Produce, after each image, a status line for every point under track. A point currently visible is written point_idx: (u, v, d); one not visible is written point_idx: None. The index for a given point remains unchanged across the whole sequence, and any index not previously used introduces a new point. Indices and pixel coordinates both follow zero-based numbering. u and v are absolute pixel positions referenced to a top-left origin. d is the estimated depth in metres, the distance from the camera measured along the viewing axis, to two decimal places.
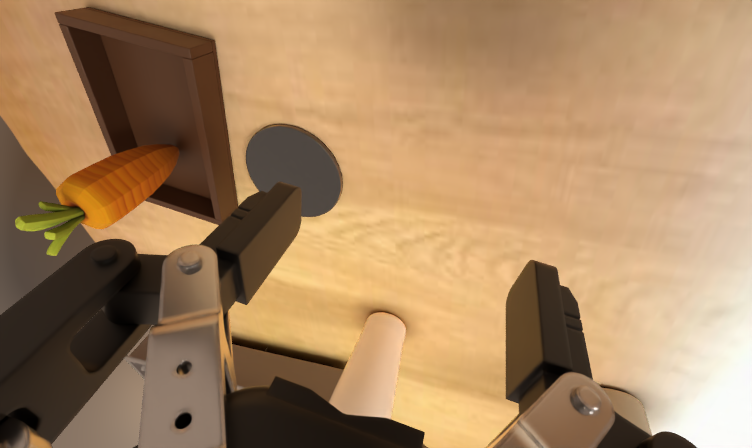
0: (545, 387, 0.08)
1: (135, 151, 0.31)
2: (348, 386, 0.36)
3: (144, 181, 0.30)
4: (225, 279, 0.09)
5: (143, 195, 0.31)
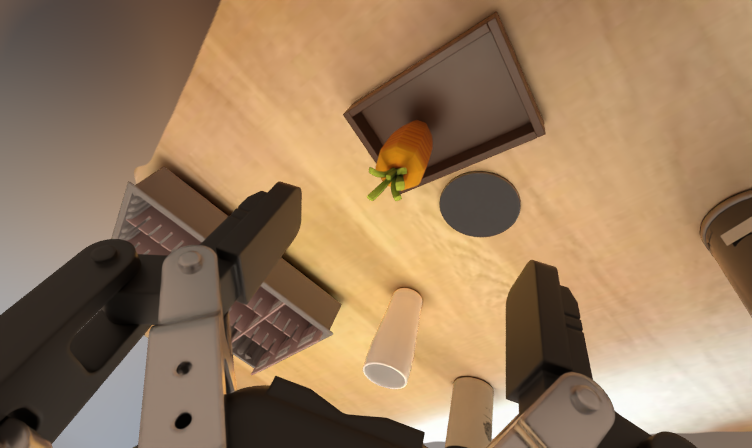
0: (545, 387, 0.08)
1: (428, 132, 0.36)
2: (401, 339, 0.51)
3: None
4: (225, 279, 0.09)
5: None
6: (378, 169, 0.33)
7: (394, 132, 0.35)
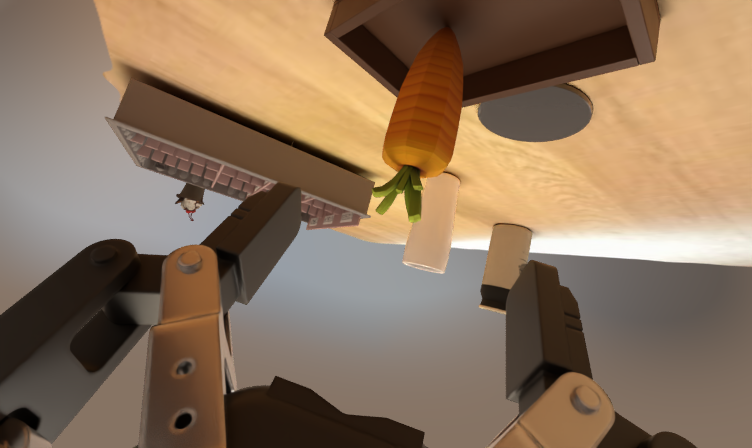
0: (545, 387, 0.08)
1: (455, 74, 0.23)
2: (437, 237, 0.51)
3: None
4: (225, 279, 0.09)
5: None
6: (386, 162, 0.24)
7: (403, 85, 0.23)
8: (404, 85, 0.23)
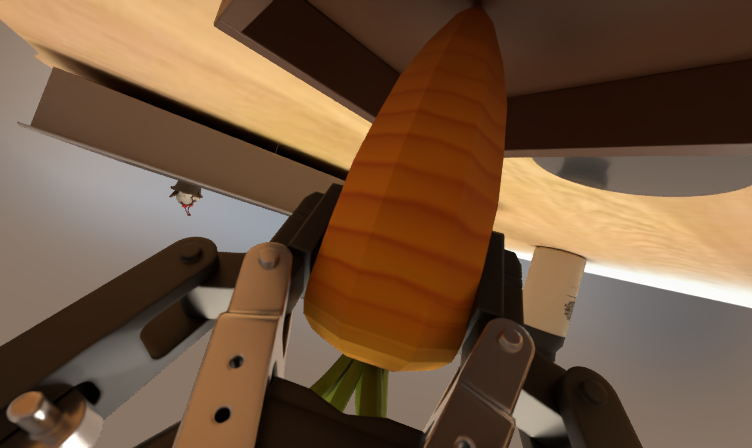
0: (478, 333, 0.09)
1: (486, 136, 0.09)
2: None
3: None
4: (297, 275, 0.10)
5: None
6: None
7: (358, 159, 0.10)
8: (360, 158, 0.10)
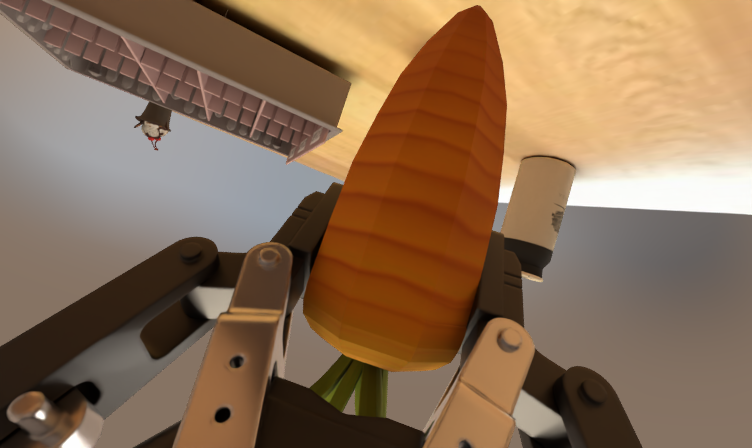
0: (478, 332, 0.09)
1: (486, 137, 0.09)
2: None
3: None
4: (297, 275, 0.10)
5: None
6: None
7: (358, 159, 0.10)
8: (359, 158, 0.10)
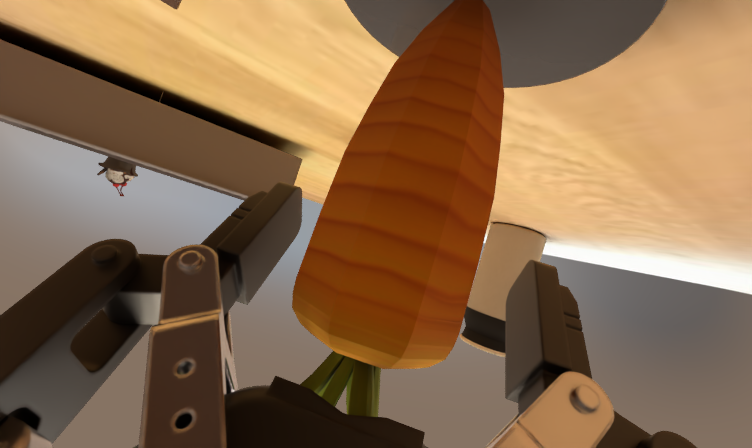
0: (544, 386, 0.08)
1: (482, 126, 0.09)
2: None
3: None
4: (225, 279, 0.09)
5: None
6: None
7: (350, 149, 0.10)
8: (351, 148, 0.10)
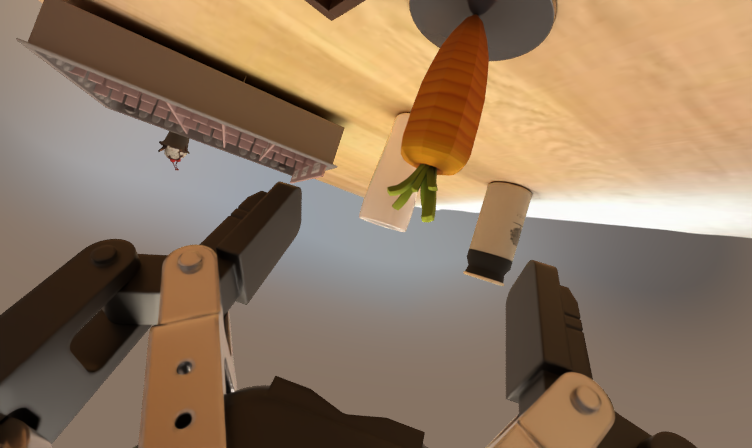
0: (545, 387, 0.08)
1: (479, 69, 0.22)
2: None
3: None
4: (225, 279, 0.09)
5: None
6: (403, 158, 0.24)
7: (424, 81, 0.23)
8: (425, 81, 0.23)
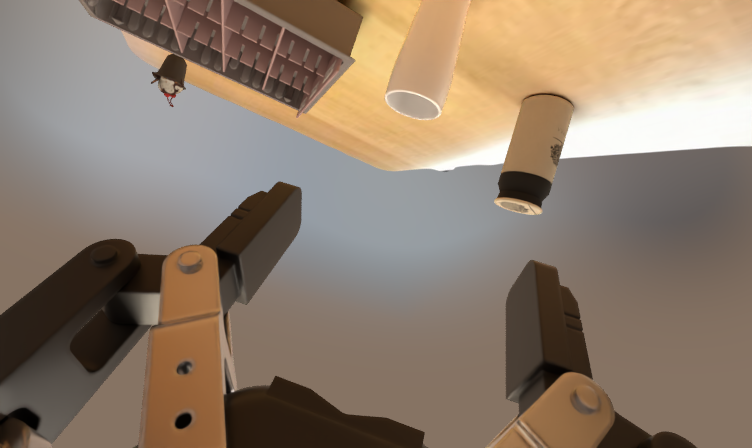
0: (545, 387, 0.08)
1: None
2: (431, 54, 0.36)
3: None
4: (225, 279, 0.09)
5: None
6: None
7: None
8: None
